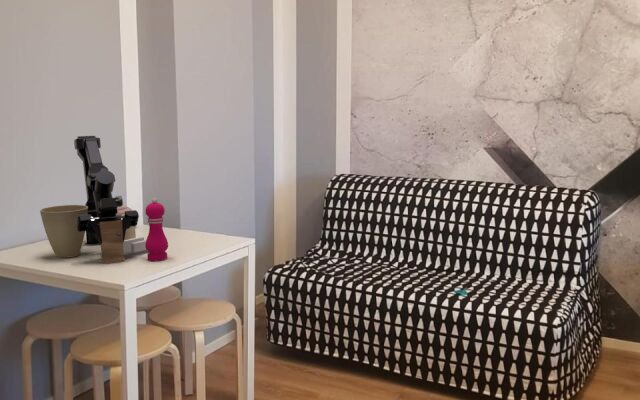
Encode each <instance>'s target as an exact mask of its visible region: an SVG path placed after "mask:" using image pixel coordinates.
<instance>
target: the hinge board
mask: <svg viewBox="0 0 640 400" xmlns="http://www.w3.org/2000/svg"><path fill="white" fill-rule="evenodd" d="M146 240H147V239H145V237H144V236H139V237H138V236H137V237H136V238H133V239H128V240H124V242H123V249H124V259H127V258H131V257H132V258H133V257H136V256H140V255H145V254H148V253H149V252H148V251H147V250H146V248H145V244H146Z"/></svg>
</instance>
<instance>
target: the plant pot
mask: <svg viewBox="0 0 640 400" xmlns="http://www.w3.org/2000/svg"><path fill="white" fill-rule="evenodd" d="M39 213H40V217H41V221H42V225H43V228H44V232H45V234H46V238H47V239H48V242H49V244H50V247H51V249H52V251H53V253H54V255H55V257H57V258H73V257H76V256H79V255H80V253H81V250H82V247H83V243H84V239H85V236H86V231H81V232H79V231H78V229H77V219H78V216H79V215H87V214H88V206H85V204H84V205H83V204H64V205H63V204H62V205H53V206H48V207H43V208H40V210H39Z"/></svg>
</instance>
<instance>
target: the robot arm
mask: <svg viewBox="0 0 640 400" xmlns="http://www.w3.org/2000/svg"><path fill="white" fill-rule="evenodd" d="M73 144H74V150H76V155H77V156H78V158H79V159H80V160H81V161H82V165H83V166H82V167H83V172H84V173H83V174H84V182H85V183H84V184H85V191H86V199H87V200H86V203H85V204H84V206H88V214H87V215H79V216H78V219H77V229H78V231H79V232H81V231H85V236H86V237H85V239H86V242H85V244H84V245H86V246H87V245H101V244H102V238H101V235H100V224H99V222H105V221H116V220H121V221H122V231H123V242H124V240H125V233H126V230H127V229H129V228H130V227H132V226H135V227H137V226H138V223H139V217H140V216H139V212H138V211H137V210H135V209H134V210H133V209H132V211H125V214H124V216H116V214H117V212H118V211H117V208H118V207H121V206H122V205H123V204H124V202H123V196H122V195H116V196H115V197H113V194H112V193H113V191H114V185H115V182H116V178H115V174H114V173H113V172H112V171H110V170H109V168H108V167H107V166H105V165H104V163H103V159H102V156H101V152H100V151H101V150H100V149H102V148H101V146H102V144H101V138H100V137H96V135H80V136H77V137H76V138H75V139H74V141H73Z"/></svg>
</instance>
